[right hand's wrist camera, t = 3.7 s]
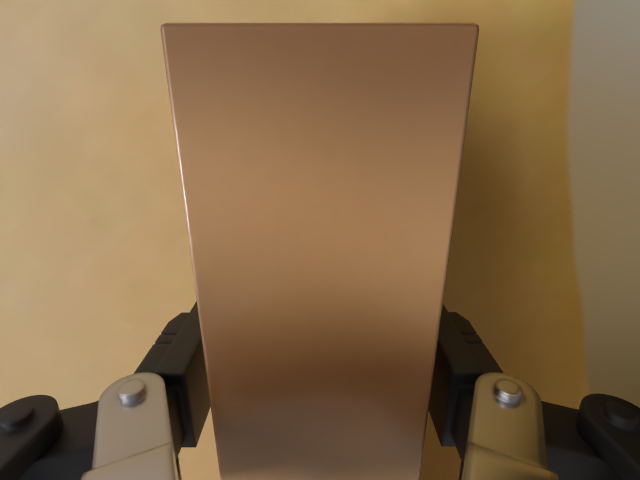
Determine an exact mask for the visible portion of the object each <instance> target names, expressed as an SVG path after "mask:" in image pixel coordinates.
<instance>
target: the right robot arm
mask: <svg viewBox="0 0 640 480" xmlns="http://www.w3.org/2000/svg"><path fill="white" fill-rule="evenodd" d="M210 406H211V403H210V396H209V388H208V381H207V373H206V366H205V358H204V351H203V344H202V336H201V329H200V321H199V314H198V306H197V302H196V303H195V305H194V307H193V308H192V310H191V311H190V313H181V314H179V315H178V316H177V317H175V318H174V319H172V320H171V321H170V322H168V324H167V325H166V327H165V328H164V330H163V331H162V333H161V335H160V336H159V337H158V339H157V340H156V342H155V344H154V345H153V346H152V348H151V349H150V351H149V352H148V353H147V355H146V356H145V358H144V359H143V361H142V362H141V364H140V365H139V367H138V368H137V370H136V371H135V373H134V374H132V375H129V376H126V377H124V378H121V379H119V380H118V381H116V382H114V383H113V384H111V385H110V386H109V387H108V388H107V389H106V390H105V391H104V392H103V393H102V395H101V397H100V399H99V401H96V402H93V403H89V404H85V405H81V406H77V407H72V408H68V409H64V410H59V407H58V403H57V401H56V400H55V399H54V398H53V397H51V396H47V395H34V396H29V397H25V398H22V399H19V400H16V401H14V402H12V403H9V404H7V405H5V406H4V407H2V408H0V480H182V477H181V470H180V464H179V459H178V454H179V452H180V449H181V447H196V446H197V443H198V440H199V437H200V434H201V432H202V429H203V426H204V423H205V420H206V418H207V415H208V412H209V409H210ZM429 412H430V415H431V418H432V421H433V424H434V426H435V429H436V432H437V435H438V438H439V441H440V444H441V446H456V448H457V450H458V453H459V456H460V458H461V464H460V470H459V477H458V480H640V408H639V407H637V406H635V405H634V404H632V403H630V402H628V401H625V400H623V399H620V398H617V397H614V396H610V395H605V394H590V395H587V396H585V397H584V398H583V399H582V401H581V404H580V407H579V410H577V409H573V408H569V407H564V406H560V405H556V404H551V403H547V402H543V401H541V399H540V397H539V395H538V393H537V392H536V391H535V390H534V389H533V388H532V387H531V386H530V385H529V384H527V383H526V382H524V381H522V380H521V379H519V378H516V377H514V376H511V375H508V374H504V373H503V372H502V370H501V369H500V367H499V366H498V364H497V363H496V361H495V360H494V358H493V357H492V355H491V354H490V352H489V351H488V349H487V348H486V346H485V345H484V344H482V340H481V339H480V337H479V336H478V335H476V331H475V330H474V328H473V327H472V325H471V324H470V322H469V321H468V320H466V319H465V318H463V317H462V316H461V315H459V314H458V313H456V312H448V311H447V310H446V308H445V306H444V305H443V304H442V312H441V319H440V327H439V334H438V342H437V349H436V357H435V364H434V372H433V379H432V387H431V394H430V402H429Z"/></svg>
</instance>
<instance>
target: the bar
mask: <svg viewBox="0 0 640 480" xmlns="http://www.w3.org/2000/svg"><path fill="white" fill-rule="evenodd" d="M478 33H479V27H478V25H477V24H475V23H165V24H163V25H161V37H162V45H163V52H164V60H165V67H166V75H167V82H168V90H169V97H170V105H171V112H172V120H173V127H174V134H175V142H176V149H177V157H178V164H179V172H180V179H181V187H182V194H183V202H184V209H185V217H186V224H187V232H188V239H189V246H190V254H191V261H192V269H193V276H194V284H195V291H196V299H197V306H198V314H199V321H200V329H201V336H202V344H203V351H204V358H205V366H206V373H207V381H208V388H209V396H210V403H211V411H212V418H213V426H214V433H215V441H216V448H217V456H218V463H219V470H220V478H221V480H419V477H420V470H421V462H422V455H423V447H424V439H425V432H426V424H427V417H428V409H429V402H430V394H431V387H432V379H433V372H434V364H435V357H436V349H437V342H438V334H439V327H440V319H441V312H442V304H443V297H444V289H445V282H446V274H447V267H448V259H449V252H450V244H451V236H452V229H453V221H454V214H455V206H456V199H457V191H458V184H459V176H460V169H461V161H462V154H463V146H464V139H465V131H466V124H467V116H468V109H469V101H470V94H471V86H472V79H473V71H474V64H475V56H476V49H477V41H478Z"/></svg>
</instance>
